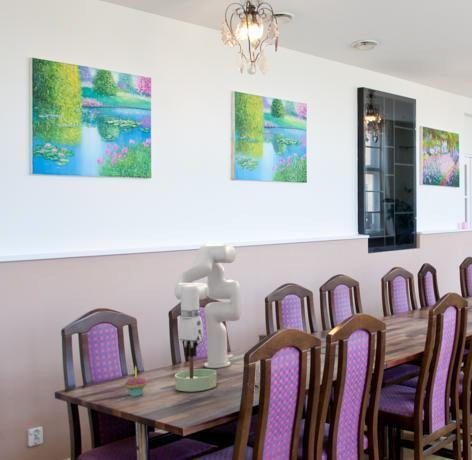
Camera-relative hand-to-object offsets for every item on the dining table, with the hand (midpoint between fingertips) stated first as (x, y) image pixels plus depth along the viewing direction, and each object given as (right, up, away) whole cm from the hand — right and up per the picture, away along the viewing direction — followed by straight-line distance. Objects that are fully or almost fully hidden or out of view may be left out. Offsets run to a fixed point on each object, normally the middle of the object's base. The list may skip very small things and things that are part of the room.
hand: (191, 356), depth 277 cm
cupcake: (-21, -15, -8) cm, 27 cm away
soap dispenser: (+31, -14, +6) cm, 34 cm away
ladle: (0, -12, 0) cm, 12 cm away
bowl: (+1, -14, +3) cm, 14 cm away
